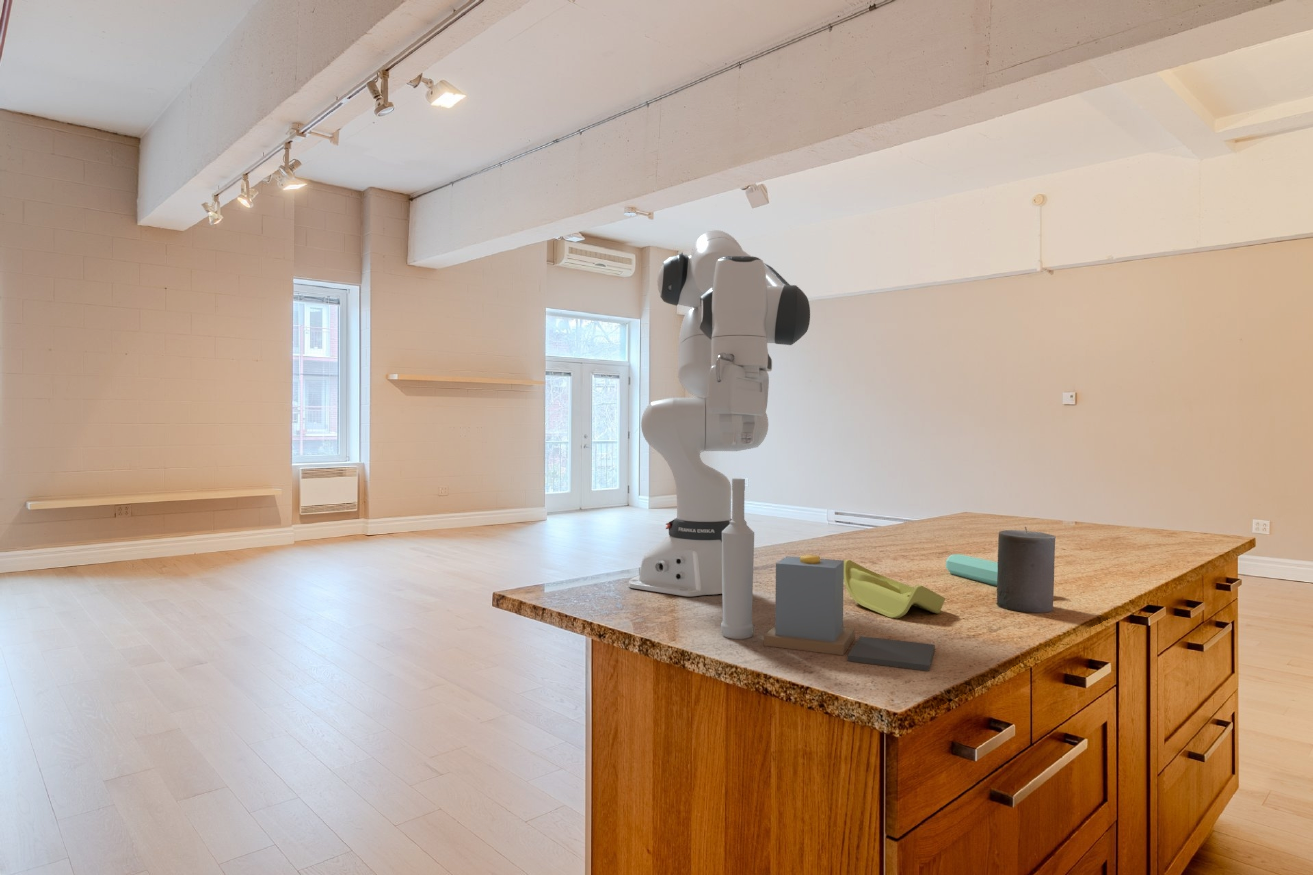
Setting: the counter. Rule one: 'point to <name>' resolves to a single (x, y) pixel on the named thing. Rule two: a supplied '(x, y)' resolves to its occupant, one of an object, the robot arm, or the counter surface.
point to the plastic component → (887, 592)
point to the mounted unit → (810, 606)
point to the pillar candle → (1025, 571)
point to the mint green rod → (973, 568)
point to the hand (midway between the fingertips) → (738, 444)
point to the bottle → (737, 569)
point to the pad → (892, 653)
